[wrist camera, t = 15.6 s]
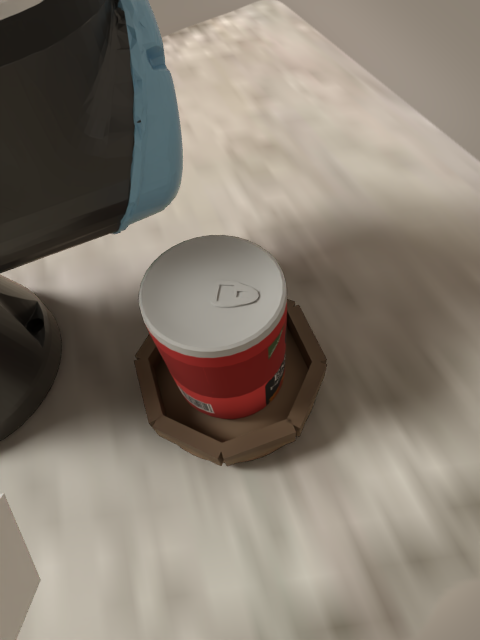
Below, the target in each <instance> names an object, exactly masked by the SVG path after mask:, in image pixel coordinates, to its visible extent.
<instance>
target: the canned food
mask: <svg viewBox="0 0 480 640" xmlns="http://www.w3.org/2000/svg"><path fill="white" fill-rule="evenodd" d="M139 307H140V310H141V314H142V317H143V320H144V323H145V325H146V327H147V329H148V331H149V334H150V335H151V337H152V339H153V341H154V343H155V345H156V347H157V349H158V350H159V352H160V354H161V356H162V358H163V360H164V362H165V363H166V365H167V367H168V369H169V371H170V373H171V375H172V377H173V378H174V380H175V382H176V384H177V386H178V388H179V390H180V391H181V393H182V395H183V396H184V398H185V399H186V400H187V401H188V402H189V404H190V405H191V406H193V407H194V408H196V409H197V410H198V411H200V412H202V413H204V414H207V415H209V416H212V417H216V418H221V419H238V418H244V417H247V416H250V415H253V414H255V413H256V412H258V411H260V410H262V409H263V408H264V407H265V406H267V405H268V404H269V403H270V402H271V401H272V400H273V399H274V398H275V396H276V395H277V394H278V392H279V390H280V388H281V386H282V384H283V380H284V375H285V355H286V328H287V287H286V282H285V278H284V274H283V271H282V269H281V268H280V266H279V264H278V262H277V261H276V260H275V259H274V258H273V256H272V255H271V254H270V253H269V252H267V251H266V250H265V249H263V248H262V247H261V246H259V245H257V244H255V243H253V242H251V241H249V240H245V239H242V238H239V237H234V236H226V235H209V236H202V237H196V238H193V239H190V240H187V241H184V242H181V243H179V244H177V245H175V246H173V247H171V248H170V249H168V250H167V251H165V252H164V253H162V254H161V255H160V256H159V257H158V258H157V259H156V260H155V261H154V262H153V263H152V264H151V266H150V267H149V268H148V270H147V271H146V273H145V275H144V277H143V279H142V282H141V285H140V290H139Z"/></svg>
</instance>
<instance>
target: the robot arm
mask: <svg viewBox="0 0 480 640" xmlns="http://www.w3.org/2000/svg"><path fill="white" fill-rule="evenodd" d="M182 170H183V149H182V135H181V127H180V119H179V112H178V105H177V100H176V94H175V89H174V84H173V80H172V76H171V73H170V71H169V70H168V69H167V67H166V65H165V56H164V49H163V42H162V38H161V34H160V31H159V28H158V25H157V22H156V19H155V16H154V14H153V11H152V9H151V6H150V4H149V2H148V0H0V273H2V272H5V271H8V270H11V269H14V268H16V267H19V266H22V265H25V264H27V263H30V262H33V261H36V260H38V259H41V258H44V257H47V256H49V255H52V254H55V253H58V252H60V251H63V250H66V249H69V248H71V247H74V246H77V245H80V244H82V243H85V242H88V241H91V240H93V239H96V238H99V237H102V236H105V235H107V234H118V233H120V232H121V231H123V230H125V229H126V228H127V227H128V226H129V225H130V224H132V223H135V222H137V221H139V220H142V219H144V218H147V217H149V216H151V215H154V214H156V213H158V212H161V211H162V210H164V209H165V208H166V207H167V206H168V205H169V204H170V203H171V201H172V200H173V199H174V198H175V197H176V195H177V193H178V190H179V187H180V184H181V179H182ZM61 347H62V345H61V335H60V331H59V327H58V324H57V322H56V320H55V318H54V317H53V315H52V314H51V312H50V311H49V310H48V309H47V308H46V306H45V305H44V304H43V303H42V302H41V300H40V299H39V298H38V297H37V296H36V295H35V294H34V293H32V292H31V291H30V290H28V289H27V288H26V287H24V286H22V285H21V284H18V283H16V282H14V281H12V280H10V279H8V278H6V277H4V276H2V275H0V441H1V440H3V439H4V438H6V437H7V436H8V435H10V434H11V433H12V432H14V431H15V430H16V429H17V428H18V427H20V426H21V425H22V424H23V423H24V422H25V421H26V420H27V419H28V418H29V417H30V416H31V415H32V413H33V412H34V411H35V410H36V409H37V407H38V406H39V405H40V404H41V402H42V401H43V399H44V398H45V396H46V394H47V393H48V391H49V389H50V387H51V385H52V383H53V381H54V379H55V376H56V374H57V371H58V367H59V363H60V358H61ZM39 582H40V577H39V575H38V572H37V570H36V568H35V565H34V563H33V561H32V558H31V556H30V554H29V551H28V549H27V546H26V544H25V542H24V539H23V537H22V535H21V532H20V530H19V528H18V525H17V523H16V520H15V518H14V516H13V513H12V511H11V509H10V506H9V504H8V502H7V499H6V497H5V494H4V493H3V494H0V640H16V639H17V636H18V634H19V632H20V629H21V627H22V624H23V622H24V619H25V617H26V614H27V612H28V609H29V607H30V605H31V602H32V600H33V597H34V595H35V592H36V590H37V587H38V585H39Z"/></svg>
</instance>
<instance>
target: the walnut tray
mask: <svg viewBox="0 0 480 640" xmlns="http://www.w3.org/2000/svg"><path fill="white" fill-rule="evenodd" d="M135 357H136V358H137V360H135V361H134V363H135V367H136V372H137V376H138V380H139V384H140V388H141V393H142V397H143V401H144V405H145V409H146V414H147V418H148V422H149V424H150V425H151V426H152V428H153V429H154V430H155V431H156V432H157V434H158V435H159V436H161V437H163V438H165V439H167V440H169V441H171V442H173V443H175V444H177V445H178V446H179V447H181V448H182V449H184V450H185V451H187V452H189V453H191V454H192V455H195V456H197V457H200V458H202V459H206V460H210V461H212V462H214V463H216V464H218V465H220V466H221V465H222V463H226V465H227V466H229V465H232V464H235V463H239V462H246V461H251V460H254V459H258V458H261V457H264V456H266V455H268V454H270V453H272V452H274V451H276V450H277V449H279V448H280V447H282V446H284V445H285V444H288V443H291V442H293V441H295V438H296V436H298V437H299V436H300V434H301V431H302V429H303V427H304V424H305V422H306V420H307V418H308V416H309V414H310V412H311V410H312V407H313V404H314V401H315V398H316V395H317V393H318V391H319V388H320V386H321V383H322V381H323V378H324V376H325V371H326V366H327V364H326V360H327V359H326V357H325V355H324V353H323V351H322V349H321V347H320V345H319V343H318V341H317V339H316V338H315V336H314V334H313V332H312V330H311V328H310V326H309V324H308V322H307V320H306V318H305V316H304V314H303V312H302V310H301V308H300V306H299V305H297V306H295V302H294V301H292V300H289V299H287V328H286V355H285V375H284V380H283V384H282V386H281V388H280V390H279V392H278V394H277V395H276V396H275V398H274V399H273V400H272V401H271V402H270V403H269V404H268V405H267V406H265V407H264V408H263V409H262V410H260V411H258V412H256V413H255V414H253V415H250V416H247V417H244V418H238V419H221V418H216V417H212V416H209V415H207V414H204V413H202V412H200V411H198V410H197V409H196V408H194V407H193V406H191V405H190V404H189V402H188V401H187V400H186V399H185V398H184V396H183V395H182V393H181V391H180V390H179V388H178V386H177V384H176V382H175V380H174V378H173V377H172V375H171V373H170V371H169V369H168V367H167V365H166V363H165V362H164V360H163V358H162V356H161V354H160V352H159V350H158V349H157V347H156V345H155V343H154V341H153V339H152V337H151V335H150V334H149V335H148V337H147V338H146V340H145V341H144V343H143V344H142V346H141V347H140V349H139V350H138V352H137V353H136V355H135Z"/></svg>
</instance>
